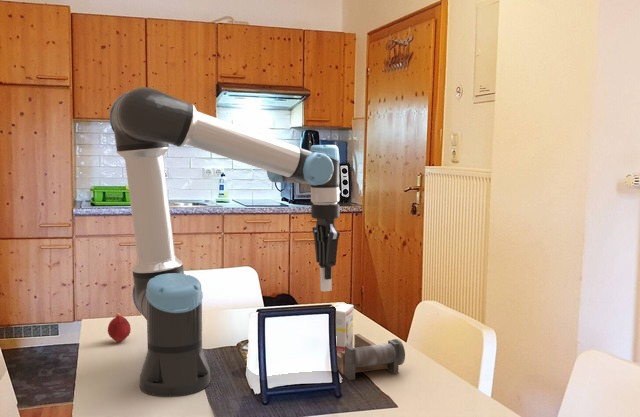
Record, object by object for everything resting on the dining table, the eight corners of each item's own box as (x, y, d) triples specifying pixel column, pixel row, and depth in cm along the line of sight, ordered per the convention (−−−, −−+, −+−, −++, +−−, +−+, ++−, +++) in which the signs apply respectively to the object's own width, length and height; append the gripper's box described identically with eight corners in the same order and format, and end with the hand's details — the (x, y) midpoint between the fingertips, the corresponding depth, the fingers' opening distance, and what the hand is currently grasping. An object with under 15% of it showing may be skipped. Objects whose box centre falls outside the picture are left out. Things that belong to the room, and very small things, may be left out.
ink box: (345, 358, 152) (345, 311, 151) (326, 355, 153) (326, 309, 152) (353, 347, 160) (354, 303, 159) (335, 345, 161) (336, 302, 160)
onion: (134, 339, 165) (133, 310, 164) (125, 346, 159) (124, 316, 159) (113, 339, 166) (113, 310, 165) (104, 345, 160) (103, 315, 159)
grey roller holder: (353, 382, 135) (353, 349, 135) (314, 352, 156) (315, 323, 155) (404, 374, 140) (405, 343, 140) (361, 346, 161) (361, 318, 161)
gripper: (348, 204, 157) (349, 294, 159) (328, 200, 169) (329, 284, 171) (322, 205, 154) (322, 297, 156) (303, 202, 166) (304, 287, 168)
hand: (326, 290), depth 164 cm, fingers closed
